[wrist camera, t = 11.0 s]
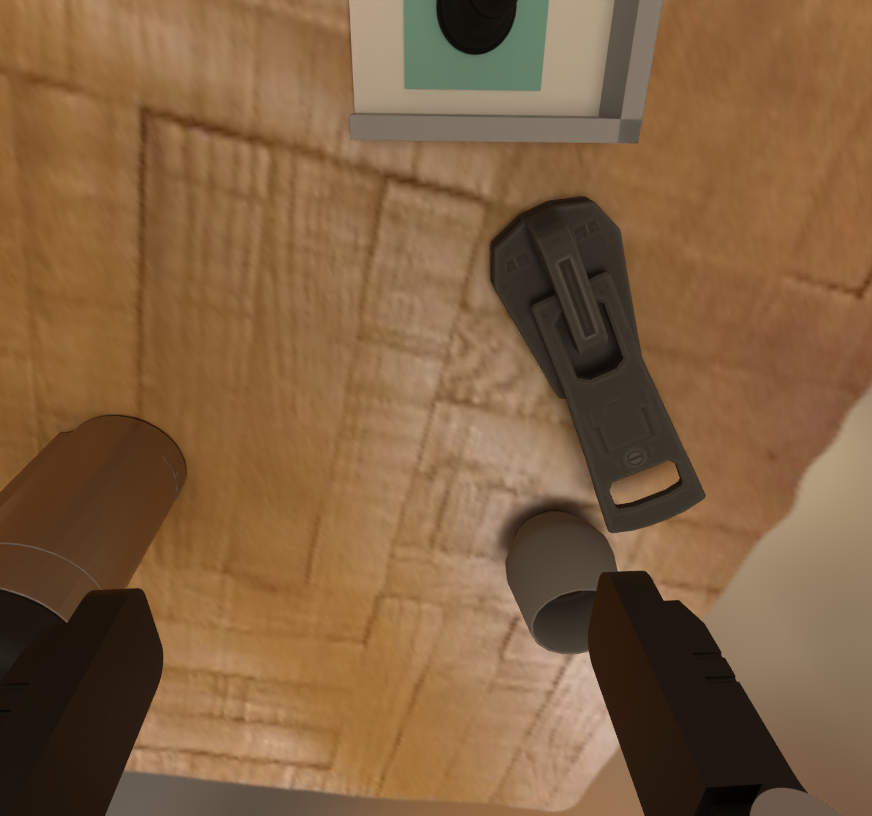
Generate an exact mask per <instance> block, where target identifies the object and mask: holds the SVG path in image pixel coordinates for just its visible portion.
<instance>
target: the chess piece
mask: <svg viewBox="0 0 872 816" xmlns="http://www.w3.org/2000/svg"><path fill="white" fill-rule="evenodd" d="M517 1H518V0H437V3H436V12H437V19H438V23H439V26H440V29H441V31H442V33H443V35H444V37H445V38H446V39H447V41H448V42H449V43H450V44H451V45H452V46H453V47H454V48H456V49H457V50H459V51H461V52H463V53H466V54H471V55H480V54H484V53H487V52H490V51H492V50H493V49H495V48H496V47H498V46H499V45H500V44H501V43H502V42H503V41H504V40H505V38H506V37H507V36H508V34H509V32H510V30H511V28H512V26H513V23H514V20H515V16H516V9H517Z"/></svg>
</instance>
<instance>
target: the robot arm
mask: <svg viewBox="0 0 872 816" xmlns="http://www.w3.org/2000/svg"><path fill="white" fill-rule="evenodd" d="M185 476H186V469H185V462H184V460H183V457H182V455H181V453H180V451H179V450H178V448H177V447H176V445H175V444H174V443H173V442H172V441H171V440H170V439H169V438H168V437H167V436H166V435H165V434H164V433H162V432H161V431H160V430H158V429H157V428H155V427H153V426H151V425H149V424H147V423H145V422H143V421H140V420H136V419H133V418H129V417H122V416H103V417H99V418H94V419H91V420H89V421H87V422H85V423H83V424H82V425H80V426H79V427H78V428H77V429H76V430H74V431H73V432H69V433H59V434H58V435H57V436H56V437H55V438H54V439H53V440H52V441H51V442H50V443H49V444H48V445H47V446H46V447H45V448H44V449H43V450H42V451H41V452H40V453H39V454H38V455H37V456H36V457H35V458H34V459H33V460H32V461H31V462H30V463H29V464H28V465H27V466H26V467H25V468H24V469H23V470H22V471H21V472H20V473H19V474H18V475H17V476H16V477H15V478H14V479H13V480H12V481H11V482H10V483H9V484H8V485H7V486H6V487H5V488H4V489H3V490H2V491H1V492H0V816H105V814H106V812H107V809H108V807H109V804H110V802H111V800H112V797H113V795H114V792H115V790H116V787H117V785H118V783H119V780H120V778H121V775H122V773H123V771H124V768H125V766H126V763H127V761H128V758H129V756H130V753H131V751H132V749H133V746H134V744H135V741H136V739H137V736H138V734H139V731H140V729H141V727H142V724H143V722H144V719H145V717H146V714H147V712H148V710H149V707H150V705H151V702H152V700H153V697H154V695H155V692H156V690H157V688H158V685H159V682H160V678H161V674H162V668H163V648H162V644H161V641H160V638H159V635H158V632H157V629H156V626H155V623H154V620H153V617H152V614H151V610H150V607H149V604H148V601H147V598H146V596H145V593H144V592H143V590H141V589H139V588H132V589H126V587H127V586H128V584H129V582H130V580H131V578H132V577H133V575H134V573H135V571H136V569H137V568H138V566H139V564H140V562H141V560H142V559H143V557H144V555H145V553H146V551H147V550H148V548H149V546H150V544H151V542H152V541H153V539H154V537H155V535H156V533H157V532H158V530H159V528H160V526H161V524H162V523H163V521H164V519H165V517H166V515H167V514H168V512H169V510H170V508H171V506H172V505H173V503H174V501H175V500H176V498H177V496H178V494H179V492H180V490H181V488H182V486H183V484H184V482H185ZM588 647H589V654H590V659H591V663H592V666H593V669H594V672H595V675H596V678H597V681H598V684H599V687H600V689H601V692H602V695H603V698H604V701H605V704H606V707H607V709H608V712H609V715H610V718H611V721H612V724H613V727H614V729H615V732H616V735H617V738H618V741H619V744H620V746H621V749H622V752H623V755H624V758H625V761H626V764H627V766H628V769H629V772H630V775H631V778H632V781H633V783H634V786H635V789H636V792H637V795H638V798H639V801H640V803H641V806H642V809H643V812H644V815H645V816H842V815H841V814H839V813H838V812H837V811H836V810H834V809H833V808H832V807H830V806H829V805H828V804H826V803H825V802H823V801H821V800H819V799H818V798H816V797H814V796H812V795H810V794H808V793H807V792H806V790H805V789H804V788H803V787H802V785H801V784H800V782H799V781H798V779H797V778H796V776H795V775H794V773H793V772H792V770H791V768H790V767H789V765H788V763H787V762H786V760H785V758H784V756H783V755H782V753H781V752H780V750H779V748H778V746H777V745H776V743H775V741H774V740H773V738H772V736H771V735H770V733H769V731H768V730H767V728H766V726H765V724H764V723H763V721H762V719H761V718H760V716H759V714H758V713H757V711H756V710H755V708H754V706H753V704H752V703H751V701H750V699H749V698H748V696H747V694H746V693H745V691H744V689H743V688H742V686H741V684H740V683H739V682H737V681H736V679H735V674H734V673H733V671H732V669H731V667H730V666H729V664H728V663H727V661H726V659H725V658H723V657H722V656H721V651H720V649H719V647H718V646H717V644H716V642H715V641H714V639H713V637H712V636H711V634H710V632H709V630H708V629H707V627H706V625H705V624H704V623H703V622H702V621H701V620H700V619H699V618H698V617H697V616H695V615H694V614H693V613H692V612H691V611H690V610H689V609H688V608H687V607H686V606H685V605H683V604H682V603H681V602H680V601H679V600H671V601H664V600H663V599H662V597H661V595H660V593H659V591H658V589H657V588H656V586H655V584H654V582H653V580H652V578H651V577H650V575H649V574H648V573H647V572H645V571H622V572H603V573H601V575H600V577H599V580H598V585H597V589H596V594H595V599H594V604H593V609H592V614H591V619H590V624H589V629H588Z"/></svg>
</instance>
